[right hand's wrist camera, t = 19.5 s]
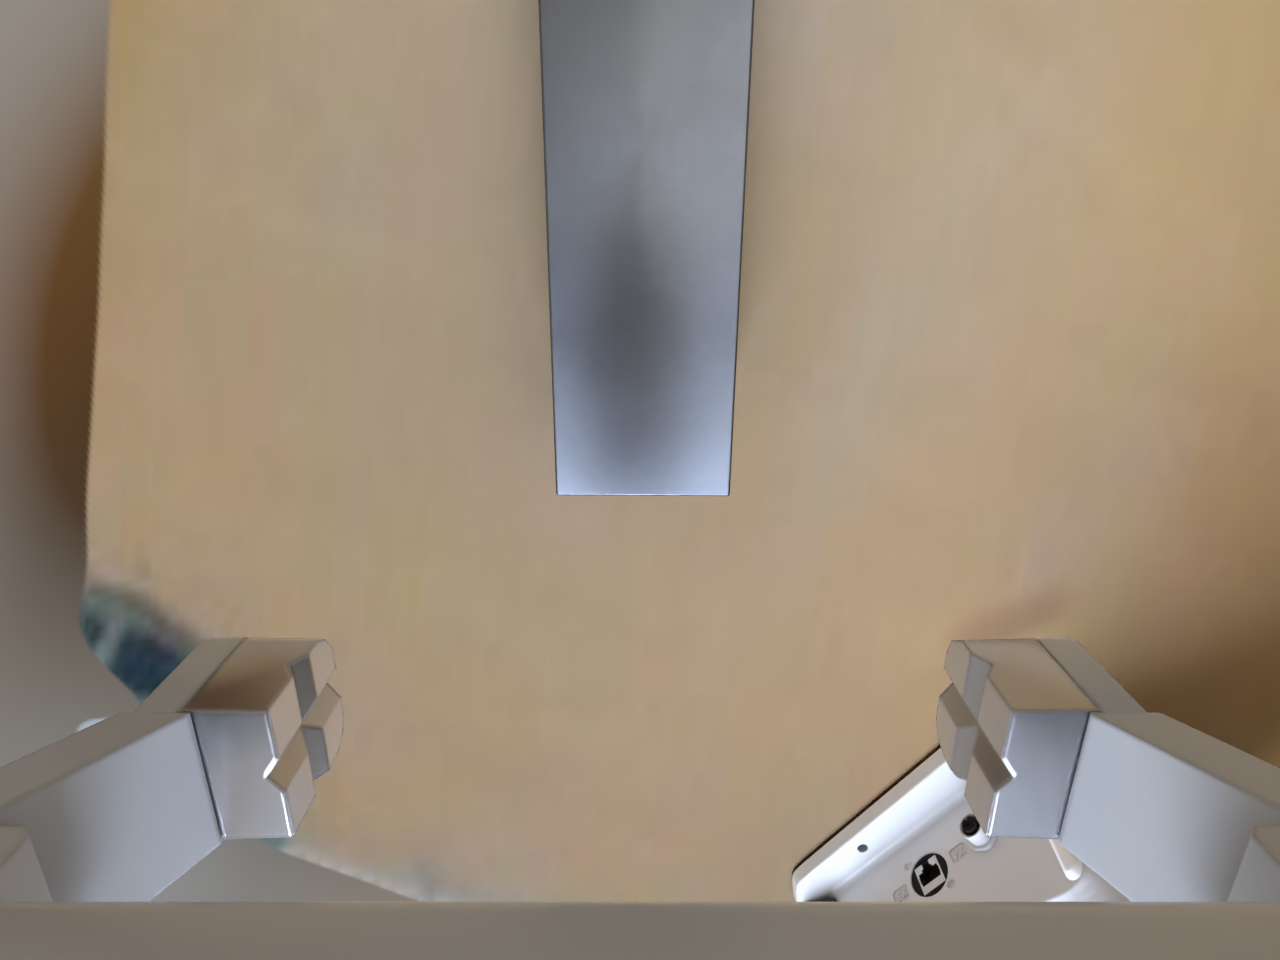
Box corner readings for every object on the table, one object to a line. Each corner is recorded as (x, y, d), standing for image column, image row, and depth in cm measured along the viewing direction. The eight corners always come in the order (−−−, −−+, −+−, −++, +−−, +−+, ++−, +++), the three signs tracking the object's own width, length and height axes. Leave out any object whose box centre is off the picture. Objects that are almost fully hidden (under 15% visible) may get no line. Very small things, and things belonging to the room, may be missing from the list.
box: (710, 427, 37) (729, 497, 29) (574, 427, 37) (556, 495, 29) (735, -196, 28) (772, -348, 20) (558, -197, 28) (525, -350, 20)
